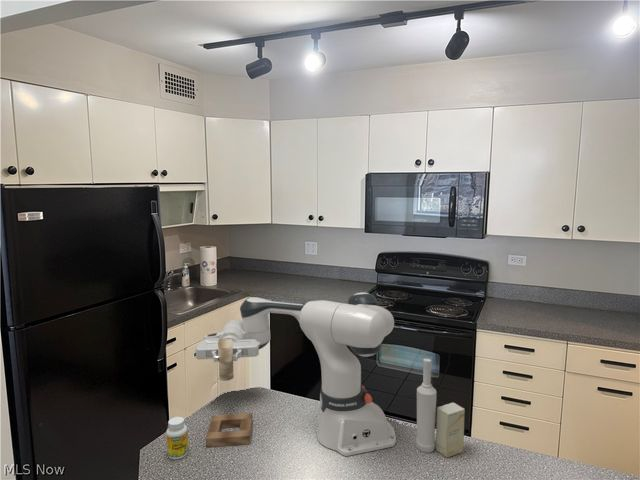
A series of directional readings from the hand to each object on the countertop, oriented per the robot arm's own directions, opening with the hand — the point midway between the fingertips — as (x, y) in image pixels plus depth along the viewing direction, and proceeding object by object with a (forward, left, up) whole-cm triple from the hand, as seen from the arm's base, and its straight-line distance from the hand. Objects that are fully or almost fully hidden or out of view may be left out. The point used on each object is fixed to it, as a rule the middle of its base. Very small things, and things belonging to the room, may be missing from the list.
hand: (225, 359), depth 130 cm
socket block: (-2, +11, -18) cm, 21 cm away
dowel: (0, -1, -6) cm, 7 cm away
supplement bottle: (+11, +19, -18) cm, 29 cm away
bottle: (-56, +24, -18) cm, 64 cm away
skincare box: (-62, +26, -18) cm, 70 cm away
